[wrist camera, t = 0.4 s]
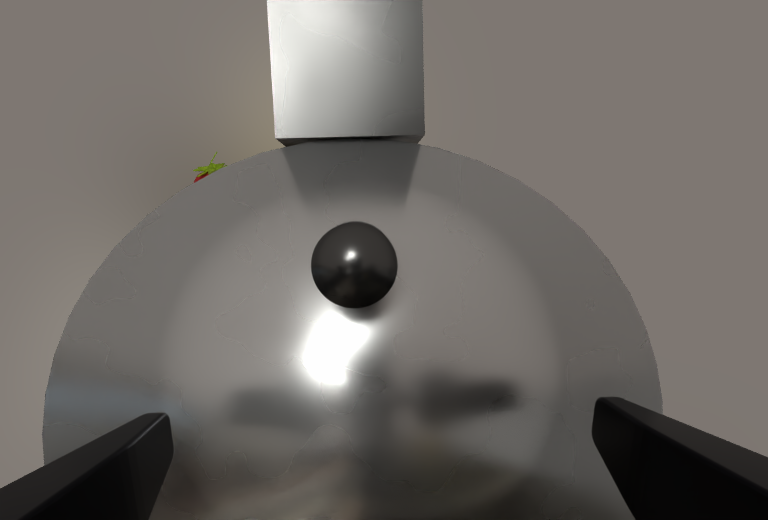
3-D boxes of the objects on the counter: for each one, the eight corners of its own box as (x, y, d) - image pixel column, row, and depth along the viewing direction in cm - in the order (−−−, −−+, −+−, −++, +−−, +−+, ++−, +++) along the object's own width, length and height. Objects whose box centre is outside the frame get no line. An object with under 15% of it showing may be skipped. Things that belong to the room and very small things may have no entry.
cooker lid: (624, 654, 11) (685, 758, 9) (109, 695, 11) (44, 817, 9) (657, -93, 9) (748, -187, 7) (6, -92, 9) (-116, -195, 6)
